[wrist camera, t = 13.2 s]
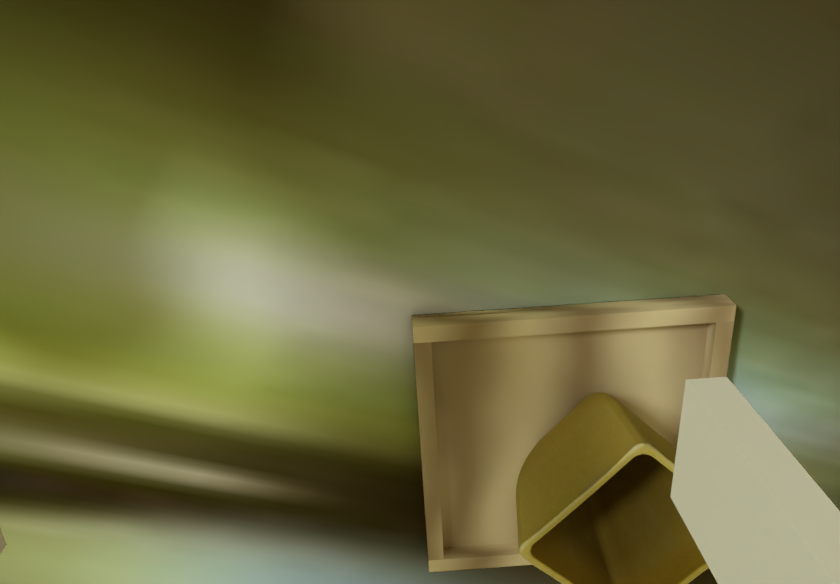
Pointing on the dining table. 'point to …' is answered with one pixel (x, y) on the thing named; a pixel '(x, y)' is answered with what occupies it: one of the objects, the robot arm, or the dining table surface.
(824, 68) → the dining table surface
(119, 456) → the dining table surface
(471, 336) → the holder tray
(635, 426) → the flower pot
